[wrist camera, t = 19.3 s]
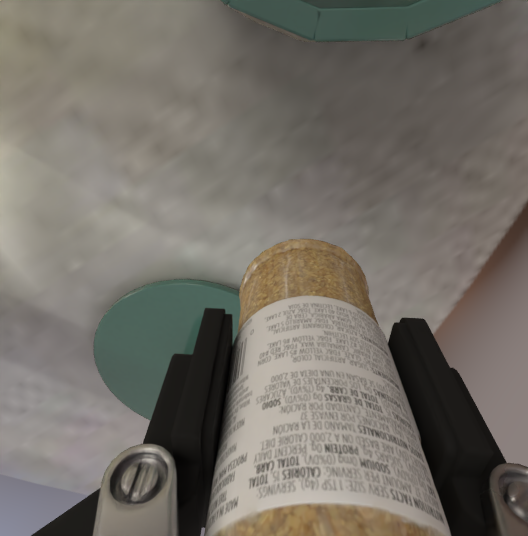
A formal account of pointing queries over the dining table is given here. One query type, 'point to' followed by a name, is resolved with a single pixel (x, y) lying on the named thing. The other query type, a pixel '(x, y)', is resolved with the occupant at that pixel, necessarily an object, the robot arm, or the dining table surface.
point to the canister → (355, 17)
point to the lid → (154, 335)
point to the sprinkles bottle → (316, 410)
